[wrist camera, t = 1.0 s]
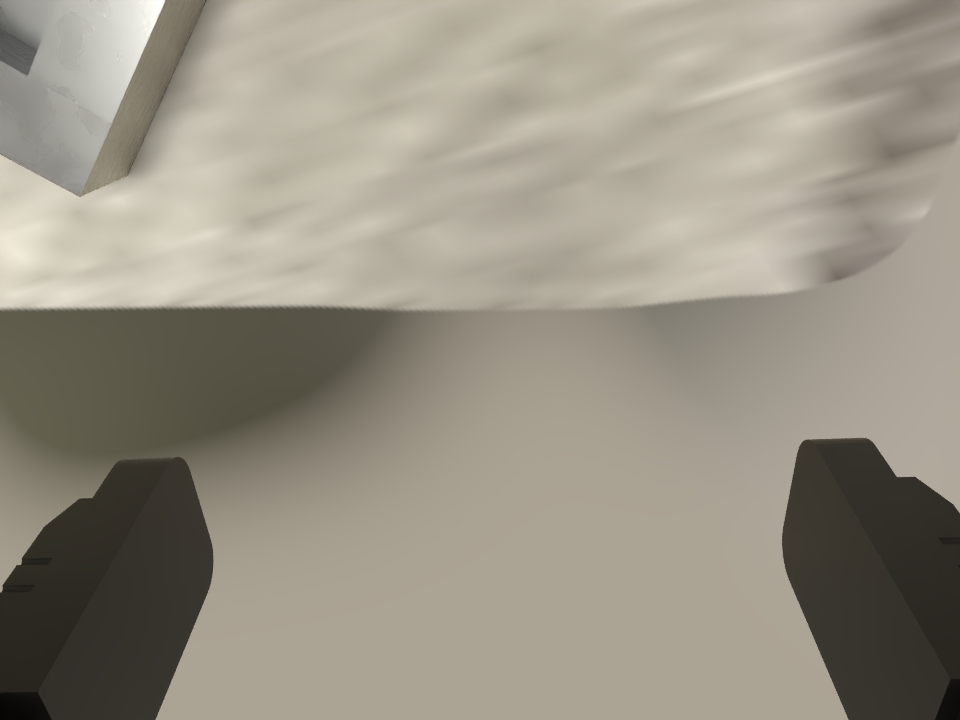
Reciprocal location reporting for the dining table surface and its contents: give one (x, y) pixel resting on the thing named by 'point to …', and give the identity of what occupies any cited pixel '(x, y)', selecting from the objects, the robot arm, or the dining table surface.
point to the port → (85, 82)
